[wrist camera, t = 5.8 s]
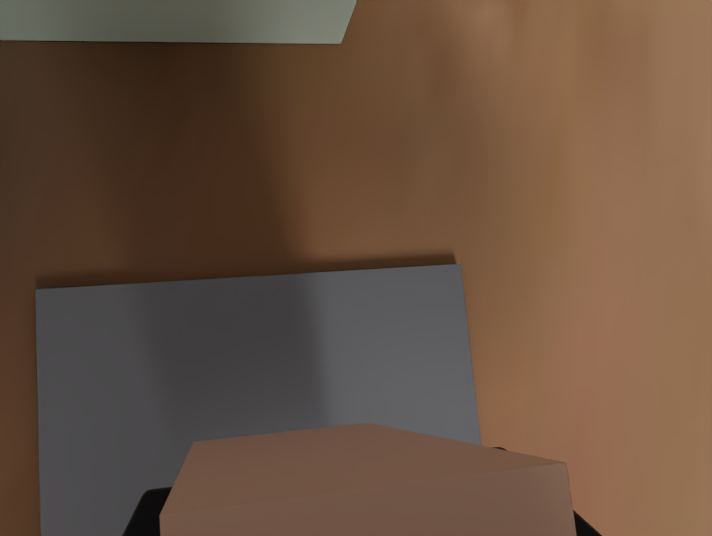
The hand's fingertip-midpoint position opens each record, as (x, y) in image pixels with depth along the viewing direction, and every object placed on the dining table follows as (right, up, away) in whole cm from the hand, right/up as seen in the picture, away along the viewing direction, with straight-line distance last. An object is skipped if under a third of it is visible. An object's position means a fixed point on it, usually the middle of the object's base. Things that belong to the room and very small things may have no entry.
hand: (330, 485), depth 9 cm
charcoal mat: (-2, -3, +10) cm, 10 cm away
